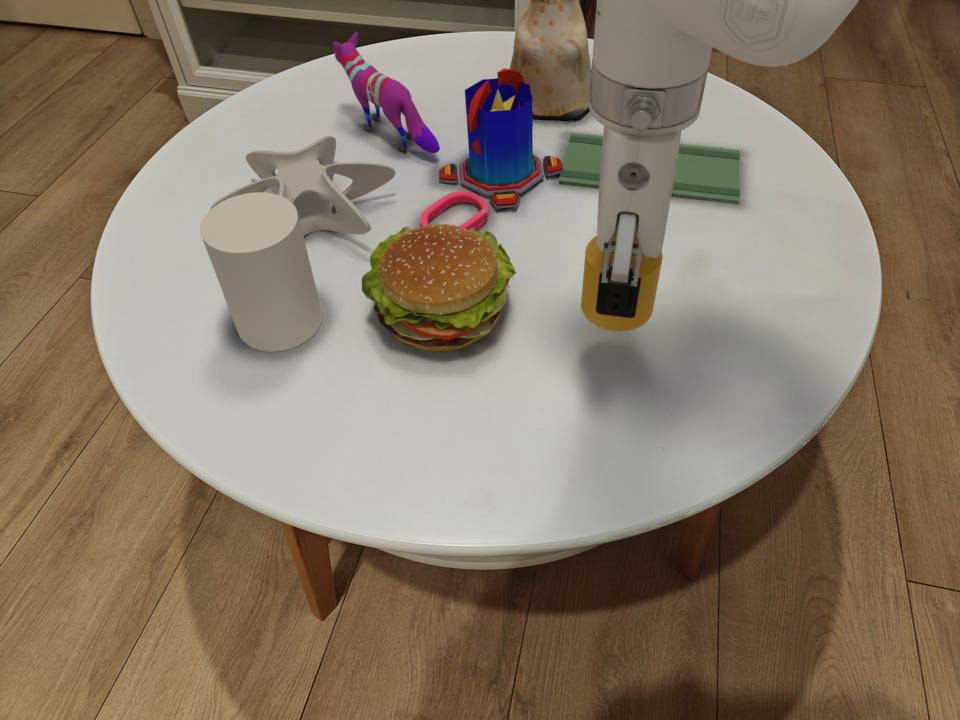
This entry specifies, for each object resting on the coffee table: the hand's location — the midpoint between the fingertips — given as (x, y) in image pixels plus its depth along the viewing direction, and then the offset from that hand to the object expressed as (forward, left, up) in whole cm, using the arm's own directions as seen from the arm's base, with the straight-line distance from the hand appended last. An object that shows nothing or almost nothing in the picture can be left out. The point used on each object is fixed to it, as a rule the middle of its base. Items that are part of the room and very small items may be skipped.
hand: (619, 283), depth 65 cm
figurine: (+12, -42, -8) cm, 45 cm away
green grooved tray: (-2, -29, -8) cm, 30 cm away
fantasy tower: (+15, -25, -8) cm, 30 cm away
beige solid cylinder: (+31, +3, -8) cm, 33 cm away
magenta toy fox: (+30, -30, -8) cm, 44 cm away
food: (+16, -2, -8) cm, 19 cm away
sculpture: (+34, -13, -8) cm, 38 cm away
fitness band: (+18, -15, -8) cm, 25 cm away
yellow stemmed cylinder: (0, 0, -3) cm, 3 cm away
